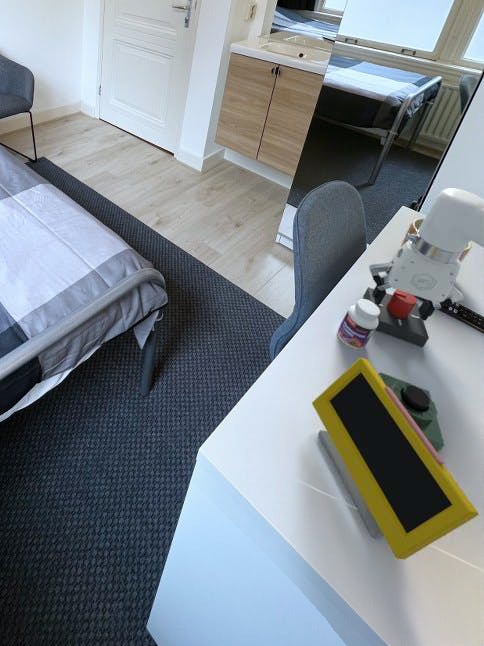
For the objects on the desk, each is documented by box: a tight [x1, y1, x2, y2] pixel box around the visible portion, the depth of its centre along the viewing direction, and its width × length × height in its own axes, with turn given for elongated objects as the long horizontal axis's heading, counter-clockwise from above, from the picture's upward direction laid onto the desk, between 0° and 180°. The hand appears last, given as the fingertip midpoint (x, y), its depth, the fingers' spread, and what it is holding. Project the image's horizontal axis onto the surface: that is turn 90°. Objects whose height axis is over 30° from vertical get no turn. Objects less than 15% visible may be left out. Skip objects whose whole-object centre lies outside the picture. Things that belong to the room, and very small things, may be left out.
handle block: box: [362, 286, 430, 348], centre depth 93 cm, size 10×10×3 cm
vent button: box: [402, 384, 430, 412], centre depth 73 cm, size 4×4×2 cm
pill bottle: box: [336, 298, 380, 350], centre depth 86 cm, size 5×5×10 cm
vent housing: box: [377, 371, 445, 453], centre depth 74 cm, size 10×8×4 cm
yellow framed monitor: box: [311, 357, 479, 560], centre depth 62 cm, size 20×8×16 cm, turn 5°
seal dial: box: [387, 289, 418, 318], centre depth 91 cm, size 4×4×5 cm
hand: (398, 307), depth 92 cm, fingers open, 8 cm apart
